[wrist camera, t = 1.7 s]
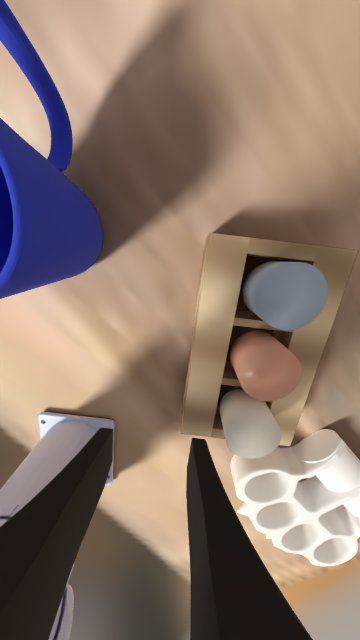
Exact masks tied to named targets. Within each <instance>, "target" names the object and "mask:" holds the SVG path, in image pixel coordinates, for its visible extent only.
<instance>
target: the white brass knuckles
mask: <svg viewBox="0 0 360 640" xmlns="http://www.w3.org/2000/svg"><path fill="white" fill-rule="evenodd" d="M231 471H232V475H233V480H234V485H235V489H236V494H237V497H238V498H239V499H241V500H242V501H244V503H243V504H242V505H241V507H240V508H239V509H238V511H237V513H240V514H243V515H246V516H249V517H250V519H251V521H252V523H253V525H254V526H255V528H256V530H257V531H259V532H262V533H265V534H266V535H267V536H266V538H269V539H272V541H273V544H274V546H276V547H278V548H280V549H282V550H284V551H286V552H288V553H297V554H300V555H303V556H305V557H307V558H308V559H309V561H310V562H311V564H313V565H317V566H334V565H339V564H342V563H344V562H346V561H348V560H349V559H351V558H352V557H353V556H354V555H355V554H356V552H357V550H358V542H357V539H358V538H359V537H360V460H359V459H358V458H357V457H356V455H355V454H354V453H353V452H352V451H351V450H350V448H349V447H348V446H347V445H346V444H345V442H344V441H343V440H342V439H341V438H340V437H339V435H338V434H337V433H336V432H335V431H333V430H330V429H322V430H318V431H316V432H315V433H313V434H311V435H309V436H308V437H306V438H304V439H303V440H301V441H300V442H299V443H298V444H296V445H294V446H293V447H288V448H279V447H277V448H276V449H275V450H274V451H273V452H271V453H270V454H268V455H266V456H263V457H260V458H243V457H240V456H238V455H236V454H235V455H234V456H233V458H232V460H231ZM304 478H308V479H306V480H304V481H302V482H298V481H299V480H301V479H304Z"/></svg>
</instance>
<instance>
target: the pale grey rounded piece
mask: <svg viewBox="0 0 360 640" xmlns="http://www.w3.org/2000/svg"><path fill="white" fill-rule="evenodd" d="M219 412H220V416H221V421H222V425H223V430H224V434H225V439H226V443H227V446H228V448H229V449H230V450H231V451H232V452H233V453H234V454H236V455H238V456H240V457H243V458H260V457H263V456H266V455H268V454H270V453H271V452H273V451H274V450H275V449H276V448H277V446H278V445H279V443H280V441H281V430H280V428H279V426H278V424H277V422H276V420H275V419H274V417H273V415H272V413H271V411H270V410H269V408H268V406H267V404H266V402H265V401H260V400H256V399H254V398H252V397H250V396H249V395H248V394H247V393H246V392H245V391H244V390H243V388H236V389H233V390H231V391H229V392H227V393H226V394H225V395H224V396H223V397H222V399H221V401H220V404H219Z"/></svg>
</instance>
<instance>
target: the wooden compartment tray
mask: <svg viewBox="0 0 360 640" xmlns="http://www.w3.org/2000/svg"><path fill="white" fill-rule="evenodd" d="M358 251H359V250H351V249H342V248H334V247H326V246H317V245H309V244H300V243H292V242H283V241H275V240H266V239H258V238H250V237H241V236H233V235H224V234H216V233H210V234H209V235H208V236H207V237H206V240H205V248H204V255H203V262H202V269H201V276H200V283H199V291H198V298H197V305H196V312H195V319H194V326H193V334H192V341H191V348H190V355H189V362H188V369H187V377H186V384H185V391H184V398H183V405H182V421H181V434H187V435H196V436H205V437H214V438H222V439H225V434H224V430H223V425H222V421H221V416H220V412H219V406H217V402H218V397H219V392H220V387H221V384H223V385H231V386H240V387H242V386H241V384H240V382H239V379H238V377H237V375H236V372H235V370H234V368H233V366H232V363H231V362H226V357H227V352H228V347H229V342H230V337H231V332H232V327H233V325H235V326H243V327H252V328H261V329H269V330H274V331H273V335H272V336H273V337H275V338H276V339H277V340H278V341H279V342H280V343H281V344H282V345H284V346H285V347H286V348H287V349H288V350H289V351H290V352H292V353H293V354H294V355H295V356H296V357H297V358H298V360H299V362H300V364H301V368H302V376H301V380H300V382H299V384H298V386H297V387H296V388H295V390H294V391H293V392H291V393H290V394H289V395H287V396H286V397H284V398H282V399H279V400H275V401H265V402H266V404H267V406H268V408H269V410H270V411H271V413H272V415H273V417H274V419H275V420H276V422H277V424H278V426H279V428H280V430H281V441H280V443H279V445H284V446H290V445H291V442H292V439H293V436H294V433H295V431H296V428H297V425H298V422H299V419H300V416H301V413H302V411H303V408H304V405H305V402H306V399H307V396H308V393H309V391H310V388H311V385H312V382H313V379H314V376H315V373H316V371H317V368H318V365H319V362H320V359H321V356H322V353H323V351H324V348H325V345H326V342H327V339H328V336H329V333H330V331H331V328H332V325H333V322H334V319H335V316H336V313H337V311H338V308H339V305H340V302H341V299H342V296H343V293H344V291H345V288H346V285H347V282H348V279H349V276H350V273H351V271H352V268H353V265H354V262H355V259H356V256H357V253H358ZM247 256H255V257H263V258H272V259H280V260H289V261H292V262H303V263H307V264H310V265H312V266H314V267H316V268H317V269H318V270H319V271H320V272H321V273H322V274H323V275H324V277H325V279H326V282H327V287H328V296H327V300H326V303H325V306H324V308H323V310H322V311H321V313H320V314H319V315H318V316H317V317H316V318H315V319H314V320H313V321H312V322H311V323H309V324H307V325H306V326H304V327H301V328H298V329H294V330H280V329H277V328H274V327H272V326H270V325H269V324H267V323H266V322H265V321H264V320H262V319H261V318H260V317H258V316H257V315H256V314H255V313H253V312H252V311H245V310H236V307H237V302H238V297H239V292H240V287H241V282H242V277H243V272H244V267H245V262H246V257H247Z"/></svg>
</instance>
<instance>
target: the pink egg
mask: <svg viewBox="0 0 360 640" xmlns="http://www.w3.org/2000/svg"><path fill="white" fill-rule="evenodd" d="M230 361H231V363H232V366H233V368H234V370H235V372H236V375H237V377H238V379H239V382H240V384H241V386H242V388H243V390H244V391H245V392H246V393H247V394H248V395H249V396H250V397H252V398H254V399H256V400H260V401H275V400H279V399H282V398H284V397H286V396H287V395H289V394H290V393H291V392H293V391H294V390H295V388H296V387H297V386H298V384H299V382H300V380H301V376H302V368H301V364H300V362H299V360H298V358H297V357H296V356H295V355H294V354H293V353H292V352H290V351H289V350H288V349H287V348H286V347H285V346H284V345H282V344H281V343H280V342H279V341H278V340H277V339H276V338H275V337H273V336H272V335H271V334H269V333H267V332H264V331H250V332H247V333H244V334H243V335H241V336H240V337H238V338H237V339H236V340H235V342H234V343H233V345H232V347H231V350H230Z"/></svg>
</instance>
